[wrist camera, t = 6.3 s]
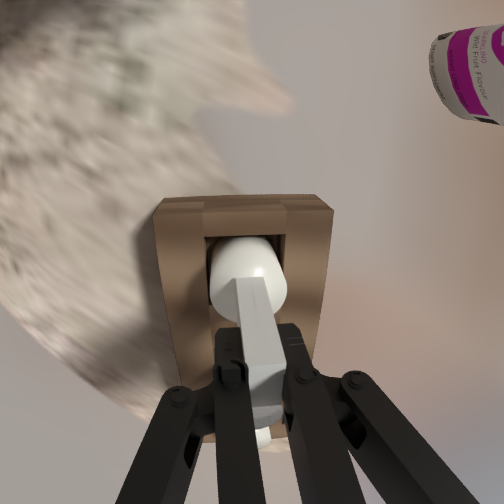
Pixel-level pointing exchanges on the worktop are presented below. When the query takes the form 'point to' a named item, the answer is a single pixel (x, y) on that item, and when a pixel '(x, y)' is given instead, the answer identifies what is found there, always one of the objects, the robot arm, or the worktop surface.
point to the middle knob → (266, 415)
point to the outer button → (263, 437)
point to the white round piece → (244, 271)
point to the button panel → (199, 269)
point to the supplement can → (470, 72)
